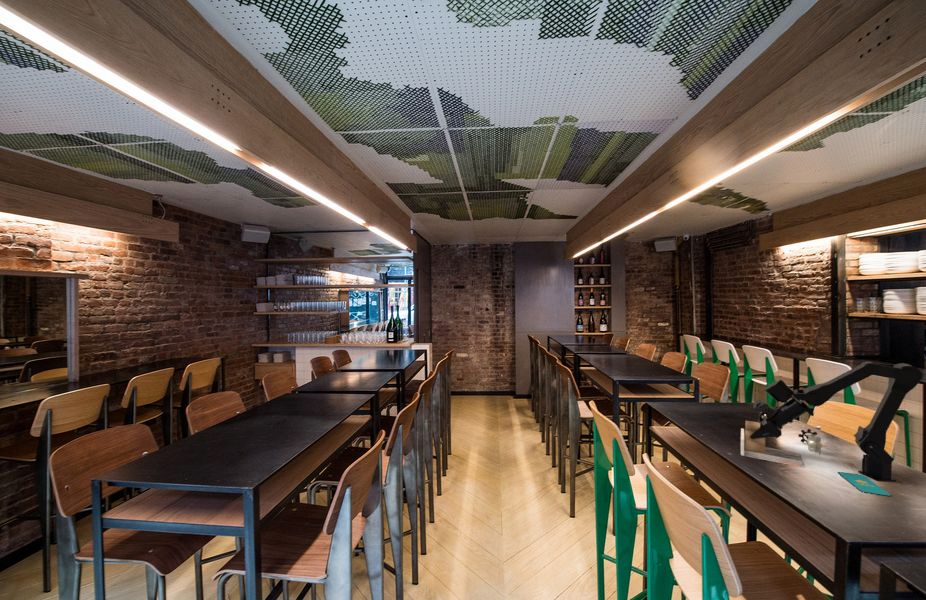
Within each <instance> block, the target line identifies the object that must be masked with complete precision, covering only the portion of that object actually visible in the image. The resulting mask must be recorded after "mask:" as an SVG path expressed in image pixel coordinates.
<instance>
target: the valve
mask: <svg viewBox="0 0 926 600" xmlns="http://www.w3.org/2000/svg"><path fill="white" fill-rule="evenodd" d="M800 432H801V434H800V433H798V435H797V436H798V438H801V439H800V442H802V443H805V442H806V445H807V449H808V452H811V453H812V452H813V453H817V454H818V455H821V448H822V447H823V446H822V443H821V442H822V441H821V440H822V437H821V436H820V435H818V432H817V431H813V432H812V430H811V429H810V428H807V429H806V431H805V429H801V430H800Z"/></svg>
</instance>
